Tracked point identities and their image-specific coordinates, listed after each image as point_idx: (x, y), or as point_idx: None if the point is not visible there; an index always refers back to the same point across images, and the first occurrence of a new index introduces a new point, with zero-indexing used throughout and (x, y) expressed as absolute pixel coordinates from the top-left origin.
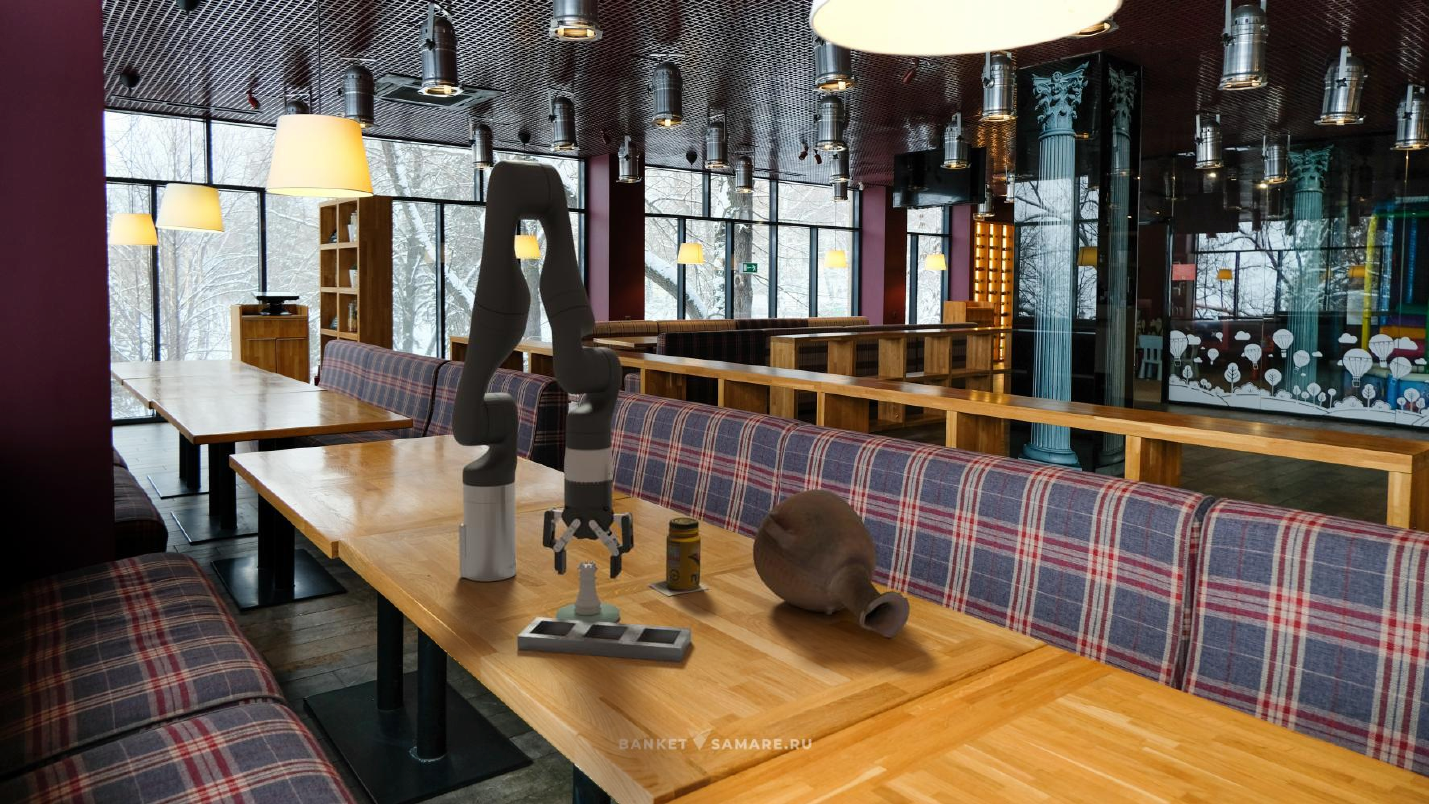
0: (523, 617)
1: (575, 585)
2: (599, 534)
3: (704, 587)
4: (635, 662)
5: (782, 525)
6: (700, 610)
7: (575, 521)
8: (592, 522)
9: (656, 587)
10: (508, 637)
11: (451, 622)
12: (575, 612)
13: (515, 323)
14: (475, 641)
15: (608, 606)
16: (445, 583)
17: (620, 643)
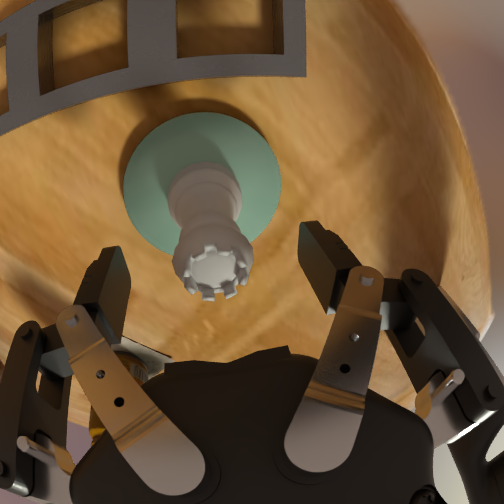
0: (346, 149)
1: (291, 325)
2: (120, 390)
3: None
4: (18, 8)
5: None
6: (33, 293)
7: (334, 446)
8: (170, 475)
9: (153, 354)
10: (337, 30)
11: (444, 110)
12: (228, 171)
13: None
14: (386, 14)
15: (172, 243)
16: (453, 263)
17: (32, 3)
